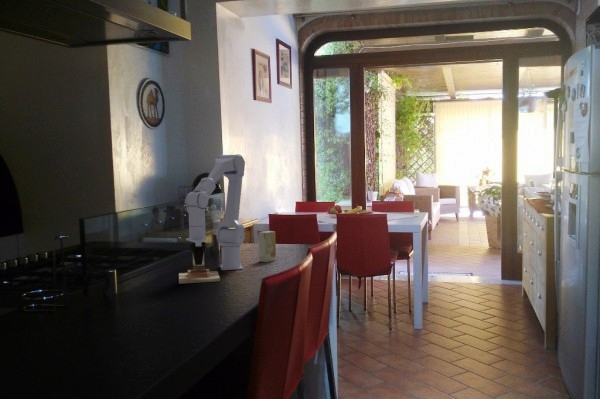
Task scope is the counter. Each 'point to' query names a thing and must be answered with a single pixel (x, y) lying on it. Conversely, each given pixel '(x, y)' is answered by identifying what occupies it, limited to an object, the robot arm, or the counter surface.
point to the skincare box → (267, 246)
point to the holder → (198, 276)
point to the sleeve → (198, 267)
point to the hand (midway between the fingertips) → (198, 263)
